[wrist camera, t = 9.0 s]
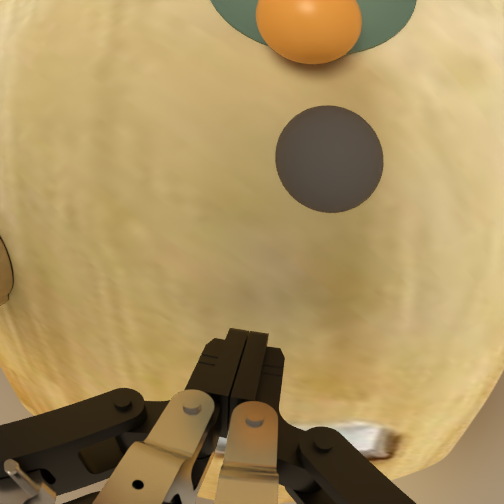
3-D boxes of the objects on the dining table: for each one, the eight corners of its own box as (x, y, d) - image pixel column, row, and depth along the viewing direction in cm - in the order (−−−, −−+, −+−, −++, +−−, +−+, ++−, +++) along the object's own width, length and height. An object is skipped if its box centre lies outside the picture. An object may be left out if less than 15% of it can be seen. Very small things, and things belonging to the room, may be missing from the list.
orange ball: (342, 90, 12) (346, -18, 8) (242, 70, 14) (227, -22, 9) (368, 56, 14) (373, -24, 10) (286, 40, 16) (280, -33, 12)
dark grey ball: (391, 148, 10) (380, 90, 13) (252, 145, 12) (277, 90, 15) (380, 238, 14) (377, 169, 17) (275, 232, 16) (292, 166, 19)
